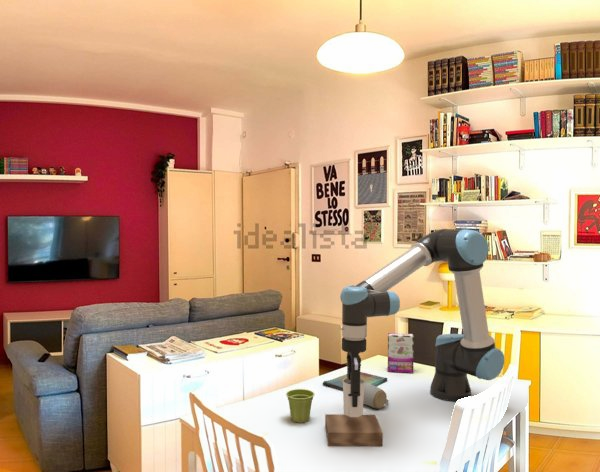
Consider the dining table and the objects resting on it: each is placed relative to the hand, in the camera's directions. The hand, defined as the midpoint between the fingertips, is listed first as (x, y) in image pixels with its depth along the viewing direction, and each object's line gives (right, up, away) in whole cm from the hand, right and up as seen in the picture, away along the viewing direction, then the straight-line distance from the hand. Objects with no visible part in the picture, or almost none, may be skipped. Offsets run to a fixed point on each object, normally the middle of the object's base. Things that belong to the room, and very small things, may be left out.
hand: (352, 412), depth 158 cm
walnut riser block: (0, -7, 0) cm, 7 cm away
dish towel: (+6, -6, +51) cm, 52 cm away
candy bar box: (+28, -6, +69) cm, 74 cm away
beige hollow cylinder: (0, 0, 0) cm, 0 cm away
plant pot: (-16, -7, +13) cm, 22 cm away
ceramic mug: (+11, -7, +27) cm, 30 cm away
